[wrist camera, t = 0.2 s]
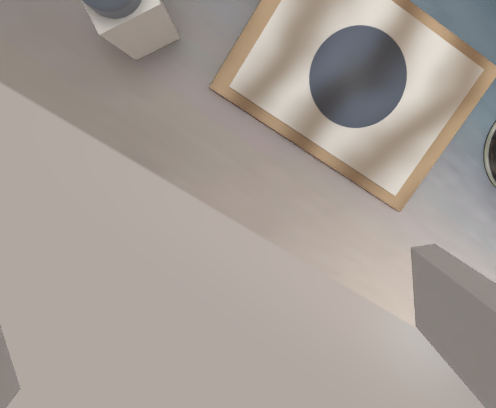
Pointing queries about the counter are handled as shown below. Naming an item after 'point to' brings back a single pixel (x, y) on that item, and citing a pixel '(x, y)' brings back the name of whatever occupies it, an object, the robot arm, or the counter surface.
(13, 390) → the robot arm
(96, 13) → the dome-capped white pillar
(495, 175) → the coffee can
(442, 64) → the picture frame
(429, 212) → the counter surface
